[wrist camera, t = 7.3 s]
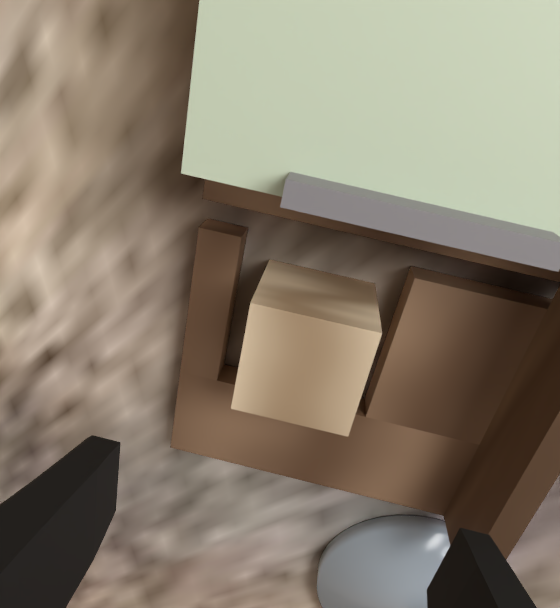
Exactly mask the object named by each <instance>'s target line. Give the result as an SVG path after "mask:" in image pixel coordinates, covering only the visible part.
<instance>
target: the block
mask: <svg viewBox="0 0 560 608" xmlns="http://www.w3.org/2000/svg"><path fill="white" fill-rule="evenodd" d="M381 336H382V328H381V321H380V314H379V307H378V300H377V294H376V287H375V283H371V282H366V281H362V280H357V279H353V278H349V277H344V276H340V275H336V274H331V273H327V272H323V271H318V270H314V269H309V268H305V267H301V266H296V265H292V264H288V263H283V262H279V261H275V260H270V259H269V262H268V264H267V266H266V268H265V271H264V273H263V275H262V277H261V280H260V282H259V284H258V287H257V289H256V291H255V293H254V296H253V298H252V300H251V302H250V307H249V313H248V318H247V324H246V329H245V334H244V340H243V345H242V351H241V356H240V362H239V367H238V372H237V378H236V383H235V389H234V394H233V399H232V405H231V409H234V410H239V411H243V412H247V413H251V414H255V415H259V416H264V417H268V418H272V419H276V420H280V421H285V422H289V423H293V424H297V425H301V426H305V427H310V428H314V429H318V430H322V431H326V432H330V433H335V434H339V435H343V436H347V437H348V436H349V432H350V429H351V426H352V423H353V420H354V417H355V414H356V411H357V408H358V405H359V402H360V399H361V396H362V393H363V390H364V387H365V384H366V381H367V378H368V375H369V372H370V369H371V366H372V363H373V360H374V357H375V354H376V351H377V348H378V345H379V342H380V339H381Z"/></svg>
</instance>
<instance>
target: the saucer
mask: <svg viewBox="0 0 560 608" xmlns="http://www.w3.org/2000/svg"><path fill="white" fill-rule="evenodd" d="M449 547H450V542H449V537H448V533H447V528H446V524H445V521H442V520H439V519H434V518H429V517H423V516H413V515H397V516H386V517H380V518H375V519H371V520H368V521H364V522H361V523H359V524H356V525H354V526H352V527H350V528H348V529H346V530H345V531H343V532H342V533H340V534H339V535H338V536H336V537H335V538H334V539H333V540H332V541H331V542H330V543H329V544H328V545H327V547H326V548H325V550H324V551H323V553H322V555H321V558H320V561H319V565H318V577H317V593H318V598H319V601H320V604H321V606H322V608H427V588H428V586H429V585H430V583H431V581H432V579H433V577H434V575H435V573H436V571H437V570H438V568H439V566H440V564H441V562H442V560H443V558H444V556H445V555H446V553H447V551H448V549H449Z"/></svg>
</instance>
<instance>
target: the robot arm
mask: <svg viewBox="0 0 560 608" xmlns="http://www.w3.org/2000/svg"><path fill="white" fill-rule="evenodd" d="M119 454H120V442H117V441H113V440H109V439H105V438H101V437H97V436H93V435H92V436H90V437H88V438H87V439H85V440H84V441H83V442H82V443H80V444H79V445H78V446H77V447H75V448H74V449H73V450H72V451H70V452H69V453H68V454H67V455H65V456H64V457H63V458H62V459H60V460H59V461H58V462H56V463H55V464H54V465H53V466H51V467H50V468H49V469H47V470H46V471H45V472H43V473H42V474H41V475H40V476H38V477H37V478H36V479H34V480H33V481H32V482H30V483H29V484H28V485H26V486H25V487H24V488H22V489H21V490H19V491H18V492H17V493H15V494H14V495H13V496H11V497H10V498H9V499H7V500H6V501H4V502H3V503H2V504H0V608H66V606H67V605H68V603H69V601H70V599H71V598H72V596H73V594H74V593H75V591H76V589H77V587H78V586H79V584H80V582H81V580H82V579H83V577H84V575H85V574H86V572H87V570H88V568H89V567H90V565H91V563H92V561H93V560H94V557H95V555H96V553H97V551H98V549H99V547H100V545H101V542H102V540H103V538H104V536H105V534H106V531H107V529H108V527H109V525H110V522H111V520H112V518H113V516H114V513H115V511H116V499H117V484H118V469H119ZM427 608H536V606H535V604H534V603H533V601H532V600H531V598H530V597H529V595H528V594H527V592H526V590H525V589H524V587H523V586H522V584H521V583H520V581H519V580H518V578H517V576H516V575H515V573H514V572H513V570H512V569H511V567H510V566H509V564H508V562H507V561H506V559H505V558H504V556H503V555H502V553H501V551H500V550H499V548H498V547H497V545H496V544H495V542H494V541H493V539H492V538H491V536H490V535H488V534H484V533H480V532H476V531H472V530H468V529H464V528H459V530H458V532H457V534H456V536H455V538H454V540H453V542H452V543H451V545H450V547H449V549H448V551H447V553H446V555H445V556H444V558H443V560H442V562H441V564H440V566H439V568H438V570H437V571H436V573H435V575H434V577H433V579H432V581H431V583H430V585H429V586H428V588H427Z"/></svg>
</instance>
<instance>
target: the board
mask: <svg viewBox="0 0 560 608" xmlns="http://www.w3.org/2000/svg"><path fill="white" fill-rule="evenodd" d="M202 199H206V200H210V201H214V202H219V203H223V204H227V205H231V206H236V207H240V208H244V209H249V210H253V211H257V212H261V213H266V214H270V215H274V216H279V217H283V218H287V219H291V220H296V221H300V222H304V223H309V224H313V225H317V226H321V227H326V228H330V229H334V230H339V231H343V232H347V233H352V234H356V235H360V236H364V237H369V238H373V239H377V240H382V241H386V242H390V243H394V244H399V245H403V246H407V247H412V248H416V249H420V250H424V251H429V252H433V253H437V254H442V255H446V256H450V257H454V258H459V259H463V260H467V261H472V262H476V263H480V264H484V265H489V266H493V267H497V268H502V269H506V270H510V271H514V272H519V273H523V274H527V275H532V276H536V277H540V278H545V279H549V280H553V281H557V282H560V269H559V271H558V272H557V271H552V270H548V269H544V268H539V267H535V266H531V265H526V264H522V263H518V262H514V261H509V260H505V259H501V258H496V257H492V256H488V255H483V254H479V253H475V252H471V251H466V250H462V249H458V248H453V247H449V246H445V245H440V244H436V243H432V242H427V241H423V240H419V239H415V238H410V237H406V236H402V235H397V234H393V233H389V232H384V231H380V230H376V229H372V228H367V227H363V226H359V225H354V224H350V223H346V222H341V221H337V220H333V219H329V218H324V217H320V216H316V215H311V214H307V213H303V212H298V211H294V210H290V209H286V208H281V207H280V205H281V200H282V197H280V196H276V195H272V194H268V193H263V192H259V191H255V190H250V189H246V188H242V187H237V186H233V185H229V184H224V183H220V182H216V181H211V180H207V179H205V182H204V190H203V198H202ZM247 231H248V228H247V227H243V226H238V225H234V224H230V223H226V222H221V221H217V220H213V219H207V220H206V221H205V222H204V223H203V224H202V225H201V226H200V227H199V229H198V236H197V244H196V252H195V260H194V267H193V275H192V283H191V291H190V299H189V306H188V314H187V322H186V330H185V337H184V345H183V353H182V361H181V368H180V376H179V384H178V392H177V400H176V407H175V415H174V423H173V431H172V438H171V446H170V447H171V448H175V449H179V450H183V451H187V452H191V453H195V454H199V455H203V456H207V457H211V458H215V459H219V460H223V461H227V462H231V463H235V464H239V465H243V466H247V467H251V468H255V469H259V470H263V471H267V472H271V473H275V474H279V475H283V476H287V477H291V478H295V479H299V480H303V481H307V482H311V483H315V484H319V485H323V486H327V487H331V488H335V489H339V490H343V491H347V492H351V493H355V494H359V495H363V496H367V497H371V498H375V499H379V500H383V501H387V502H391V503H395V504H399V505H403V506H407V507H411V508H415V509H419V510H423V511H427V512H431V513H435V514H439V515H443V516H444V519H445V524H446V528H447V533H448V537H449V542H450V545H451V543H452V542H453V540H454V538H455V536H456V534H457V532H458V530H459V528H464V529H468V530H472V531H476V532H480V533H484V534H488V535H490V536H491V538H492V539H493V541H494V542H495V544H496V545H497V547H498V548H499V550H500V551H501V553H502V555H503V556H504V558H505V559H507V557H508V556H509V554H510V553H511V551H512V549H513V548H514V546H515V545H516V543H517V541H518V540H519V538H520V537H521V535H522V533H523V532H524V530H525V529H526V527H527V525H528V524H529V522H530V521H531V519H532V517H533V516H534V514H535V513H536V511H537V509H538V508H539V506H540V505H541V503H542V501H543V500H544V498H545V497H546V495H547V493H548V492H549V490H550V489H551V487H552V485H553V484H554V482H555V481H556V479H557V477H558V476H559V474H560V286H559V288H558V290H557V292H556V294H555V296H554V298H553V299H550V298H546V297H541V296H537V295H533V294H528V293H524V292H520V291H516V290H511V289H507V288H503V287H499V286H494V285H490V284H486V283H482V282H477V281H473V280H469V279H464V278H460V277H456V276H452V275H447V274H443V273H439V272H435V271H430V270H426V269H422V268H418V267H413V266H410V269H409V272H408V275H407V278H406V281H405V284H404V287H403V289H402V292H401V295H400V298H399V301H398V304H397V307H396V310H395V313H394V316H393V318H392V321H391V324H390V327H389V330H388V333H387V336H386V339H385V342H384V344H383V347H382V350H381V353H380V356H379V359H378V362H377V365H376V368H375V371H374V373H373V376H372V379H371V382H370V385H369V388H368V391H367V394H366V397H365V399H364V398H361V399H360V402H359V405H358V408H357V411H356V414H355V417H354V420H353V423H352V426H351V429H350V432H349V436H348V437H347V436H343V435H339V434H335V433H330V432H326V431H322V430H318V429H314V428H310V427H305V426H301V425H297V424H293V423H289V422H285V421H280V420H276V419H272V418H268V417H264V416H259V415H255V414H251V413H247V412H243V411H239V410H234V409H231V405H232V399H233V394H234V389H235V383H236V378H237V372H238V368H237V367H233V366H229V365H225V364H224V361H225V356H226V350H227V344H228V339H229V333H230V327H231V322H232V316H233V310H234V305H235V299H236V293H237V288H238V282H239V276H240V271H241V265H242V259H243V254H244V248H245V242H246V237H247Z"/></svg>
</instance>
